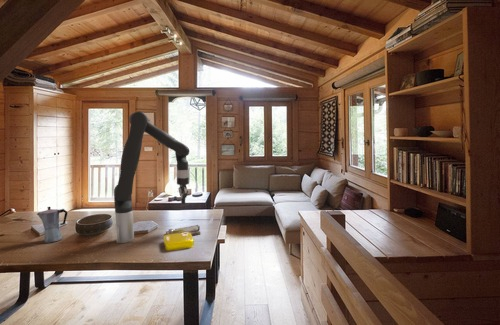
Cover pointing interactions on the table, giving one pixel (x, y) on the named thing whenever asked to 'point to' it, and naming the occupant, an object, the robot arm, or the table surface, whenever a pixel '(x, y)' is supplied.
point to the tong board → (190, 232)
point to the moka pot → (52, 224)
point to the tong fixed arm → (184, 230)
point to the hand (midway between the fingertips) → (183, 203)
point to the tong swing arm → (186, 227)
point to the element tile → (178, 241)
